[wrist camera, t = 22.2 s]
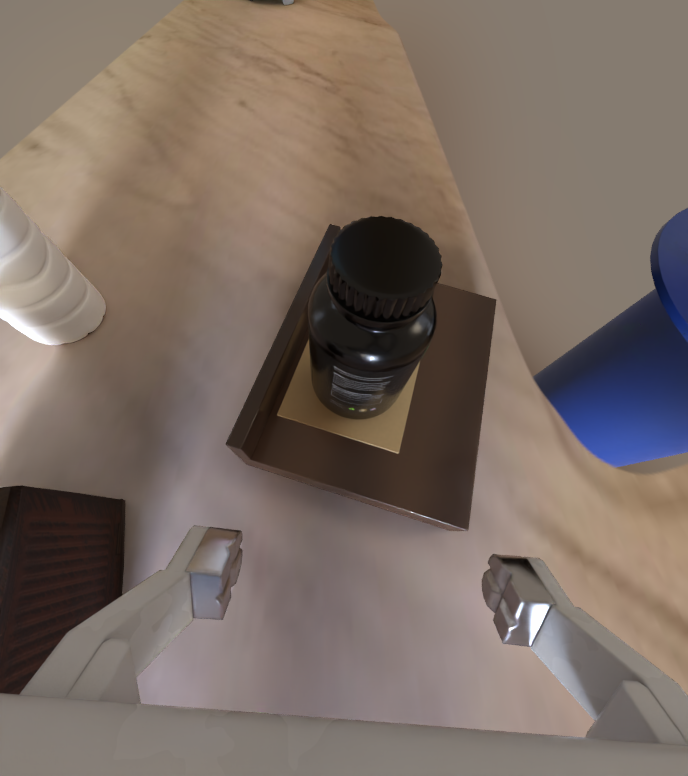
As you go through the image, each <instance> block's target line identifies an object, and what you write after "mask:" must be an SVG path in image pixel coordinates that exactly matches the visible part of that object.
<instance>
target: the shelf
mask: <svg viewBox="0 0 688 776" xmlns="http://www.w3.org/2000/svg"><path fill="white" fill-rule="evenodd" d="M340 229H341V228H340V227H339V226H335V225H332V224H330V225H329V227H328V229H327V231H326V233H325V235H324V237H323V239H322V241H321V244H320V246H319V248H318V250H317V252H316V254H315V256H314V258H313V260H312V263H311V265H310V267H309V269H308V271H307V273H306V275H305V277H304V279H303V282H302V284H301V286H300V288H299V290H298V292H297V294H296V296H295V298H294V301H293V303H292V305H291V307H290V309H289V311H288V313H287V315H286V317H285V320H284V322H283V324H282V326H281V328H280V330H279V332H278V334H277V336H276V339H275V341H274V343H273V345H272V347H271V349H270V351H269V353H268V355H267V358H266V360H265V362H264V364H263V366H262V368H261V370H260V372H259V374H258V377H257V379H256V381H255V383H254V385H253V387H252V389H251V391H250V393H249V396H248V398H247V400H246V402H245V404H244V406H243V408H242V410H241V412H240V415H239V417H238V419H237V421H236V423H235V425H234V427H233V429H232V431H231V434H230V436H229V438H228V440H227V442H226V445H227V446H228V447H229V448H230V449H231V450H232V451H233V452H234V453H235V454H236V455H237V456H238V457H239V458H241V459H242V460H243V461H244V462H245V463H246V464H248V465H251V466H254V467H257V468H260V469H263V470H266V471H269V472H272V473H275V474H278V475H281V476H284V477H287V478H290V479H293V480H297V481H300V482H303V483H306V484H309V485H312V486H315V487H318V488H321V489H324V490H327V491H330V492H333V493H336V494H339V495H342V496H345V497H348V498H352V499H355V500H358V501H361V502H364V503H367V504H370V505H373V506H376V507H379V508H382V509H385V510H388V511H391V512H394V513H397V514H400V515H403V516H407V517H410V518H413V519H416V520H419V521H422V522H425V523H428V524H431V525H434V526H437V527H440V528H443V529H446V530H449V531H468V528H469V519H470V511H471V503H472V495H473V487H474V478H475V470H476V462H477V454H478V446H479V437H480V429H481V421H482V413H483V405H484V396H485V388H486V380H487V372H488V364H489V356H490V347H491V339H492V331H493V323H494V315H495V306H496V299H492V298H489V297H485V296H482V295H478V294H475V293H471V292H468V291H464V290H460V289H457V288H453V287H450V286H446V285H443V284H439V283H437V285H436V287H435V289H434V292H433V299H434V302H435V305H436V311H437V325H436V330H435V334H434V336H433V339H432V341H431V343H430V345H429V347H428V348H427V350H426V352H425V353H424V355H423V357H422V358H421V360H420V362H419V364H418V365H417V367H416V369H415V370H414V372H413V374H412V375H411V377H410V379H409V380H408V382H407V384H406V385H405V387H404V389H403V390H402V392H401V394H400V395H399V397H398V398H397V400H396V401H395V403H394V404H393V405H392V406H391V407H390V408H389V409H388V410H387V411H385V412H384V413H382V414H380V415H378V416H376V417H373V418H369V419H362V420H354V419H348V418H344V417H341V416H339V415H337V414H335V413H333V412H331V411H330V410H329V409H327V408H326V407H325V406H324V405H323V404H322V403H321V402H320V400H319V399H318V397H317V396H316V394H315V392H314V389H313V386H312V381H311V369H310V350H309V331H308V304H309V299H310V296H311V293H312V291H313V289H314V287H315V285H316V284H317V282H318V281H319V280H320V278H321V277H322V276H323V275H324V274H325V273H326V272H327V269H328V266H329V256H330V247H331V245H332V244H333V239H334V238H335V237H336V236H337V234H338V231H340Z"/></svg>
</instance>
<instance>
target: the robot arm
mask: <svg viewBox="0 0 688 776" xmlns="http://www.w3.org/2000/svg"><path fill="white" fill-rule="evenodd" d="M241 542H242V531H239V530H231V529H222V528H214V527H203V526H195V525H194V526H193V527H192V528H191V529H190V530H189V532H188V533H187V535H186V537H185V538H184V540H183V542H182V543H181V545H180V546H179V548H178V550H177V551H176V553H175V555H174V556H173V558H172V560H171V561H170V563H169V565H168V566H167V568H166V570H159V571H158V572H156V573H155V574H153V575H152V576H150V577H149V578H147V579H146V580H144V581H143V582H141V583H140V584H138V585H137V586H135V587H134V588H132V589H131V590H130V591H128V592H127V593H125V594H124V595H122V596H121V597H119V598H118V599H116V600H115V601H113V602H112V603H110V604H109V605H107V606H106V607H104V608H103V609H101V610H100V611H98V612H97V613H95V614H94V615H92V616H91V617H89V618H88V619H87V620H85V621H84V622H82V623H81V624H79V625H78V626H76V627H75V628H73V629H72V630H70V631H69V632H67V633H66V635H65V636H64V637H63V639H62V640H61V641H60V642H59V644H58V645H57V646H56V648H55V649H54V650H53V651H52V653H51V654H50V655H49V657H48V658H47V659H46V661H45V662H44V663H43V664H42V666H41V667H40V668H39V670H38V671H37V672H36V673H35V675H34V676H33V677H32V679H31V680H30V681H29V682H28V684H27V685H26V686H25V688H24V689H23V690H22V691H21V693H20V694H6V693H0V776H688V696H687V694H686V693H685V692H684V691H683V689H682V688H681V687H680V686H679V684H678V683H676V682H675V681H674V680H673V679H671V678H670V677H669V676H667V675H666V674H665V673H663V672H662V671H661V670H660V669H658V668H657V667H656V666H654V665H653V664H652V663H651V662H649V661H648V660H647V659H645V658H644V657H643V656H641V655H640V654H639V653H638V652H636V651H635V650H634V649H632V648H631V647H630V646H629V645H627V644H626V643H625V642H623V641H622V640H621V639H619V638H618V637H617V636H616V635H614V634H613V633H612V632H610V631H609V630H608V629H607V628H605V627H604V626H603V625H601V624H600V623H599V622H598V621H596V620H595V619H594V618H592V617H591V616H590V615H588V614H587V613H586V612H585V611H583V610H582V609H581V608H579V607H574V605H573V604H572V602H571V601H570V600H569V598H568V597H567V595H566V594H565V592H564V591H563V589H562V588H561V586H560V585H559V583H558V582H557V580H556V579H555V577H554V576H553V575H552V573H551V572H550V570H549V569H548V567H547V566H546V564H545V563H544V562H543V561H542V560H541V559H540V558H533V557H521V556H510V555H497V554H493V555H492V556H491V557H490V558H489V561H488V564H489V566H490V569H489V570H487V571H486V572H484V575H483V578H482V592H483V597H484V599H485V602H486V604H487V606H488V607H489V608H490V609H491V610H492V611H493V612H494V613H495V615H494V619H493V621H494V624H495V626H496V628H497V631H498V633H499V635H500V638H501V640H502V643H503V644H510V645H519V646H527V647H531V649H532V650H533V652H534V653H535V654H536V655H537V656H538V657H539V658H540V659H541V661H542V662H543V663H544V664H545V665H546V666H547V667H548V668H549V670H550V671H551V672H552V673H553V674H554V675H555V676H556V677H557V679H558V680H559V681H560V682H561V683H562V684H563V685H564V687H565V688H566V689H567V690H568V691H569V692H570V693H571V694H572V696H573V697H574V698H575V699H576V700H577V701H578V702H579V703H580V705H581V706H582V707H583V708H584V709H585V710H586V711H587V713H588V714H589V715H590V716H591V717H592V718H593V719H594V720H595V722H594V723H593V725H592V726H591V727H590V729H589V730H588V732H587V734H586V737H572V736H558V735H545V734H532V733H519V732H506V731H493V730H480V729H467V728H454V727H441V726H428V725H415V724H401V723H388V722H375V721H361V720H348V719H335V718H321V717H308V716H295V715H282V714H269V713H255V712H242V711H229V710H216V709H202V708H189V707H176V706H163V705H150V704H141V702H140V696H139V691H138V685H137V680H136V677H137V676H138V675H139V674H140V673H141V672H142V671H143V670H144V669H145V668H146V667H147V666H148V665H149V664H150V663H151V662H152V661H153V660H154V659H155V658H156V657H157V656H158V655H159V654H160V653H161V652H162V651H163V650H164V649H165V648H166V647H167V646H168V645H169V644H170V643H171V642H172V641H173V640H174V639H175V638H176V637H177V636H178V635H179V634H180V633H181V632H182V631H183V630H184V629H185V628H186V627H187V626H188V625H189V624H190V623H191V622H192V621H193V618H198V619H217V620H223V618H224V615H225V613H226V610H227V607H228V604H229V602H230V599H231V587H232V586H233V585H235V584H236V582H237V579H238V576H239V572H240V568H241V563H242V549H241V548H240V545H241Z"/></svg>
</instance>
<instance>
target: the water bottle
mask: <svg viewBox="0 0 688 776" xmlns="http://www.w3.org/2000/svg"><path fill="white" fill-rule="evenodd" d="M105 311H106V304H105V301H104V299H103V297H102V295H101V294H100V293H99V291H98V290H97V289H96V288H95V287H94V286H93V285H92V284H91V283H90V282H89V281H88V280H87V279H86V278H85V277H84V276H83V275H82V274H81V273H80V271H79V270H78V269H77V268H76V267H75V265H74V264H73V263H72V262H71V261H70V260H69V259H67V258H66V257H65V256H64V254H63V253H62V252H61V251H60V249H59V248H58V247H57V246H56V245H55V244H54V243H53V242H52V241H51V240H50V239H49V238H48V237H47V236H46V235H45V234H44V233H42V232H41V230H40V228H39V227H38V225H37V224H36V223H35V222H34V221H33V220H32V219H31V218H30V217H29V216H27V215H26V214H25V212H24V211H23V210H22V208H21V207H20V206H19V205H18V204H17V202H16V201H15V200H14V199H13V198H12V197H11V196H10V195H9V194H8V193H7V192H6V191H5V190H4V189H3V188H2V187H0V318H1V319H3V320H5V321H7V322H9V323H10V324H11V325H12V326H13V327H14V328H16V329H17V330H19V331H21V332H22V333H24V334H25V335H27V336H28V337H30V338H31V339H33V340H35V341H37V342H40V343H43V344H47V345H62V344H63V343H72V342H75V341H78V340H80V339H82V338H84V337H85V336H87V334H88V333H90V332H93V331H94V330H95V329H96V328H97V327H98V326H99V324H100V323H101V322H102V319H103V315H105Z"/></svg>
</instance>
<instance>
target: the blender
mask: <svg viewBox="0 0 688 776" xmlns="http://www.w3.org/2000/svg"><path fill="white" fill-rule="evenodd" d="M250 1H252V0H250ZM293 1H294V0H282V3H283V4H284V5H289V4H292V3H293Z"/></svg>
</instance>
